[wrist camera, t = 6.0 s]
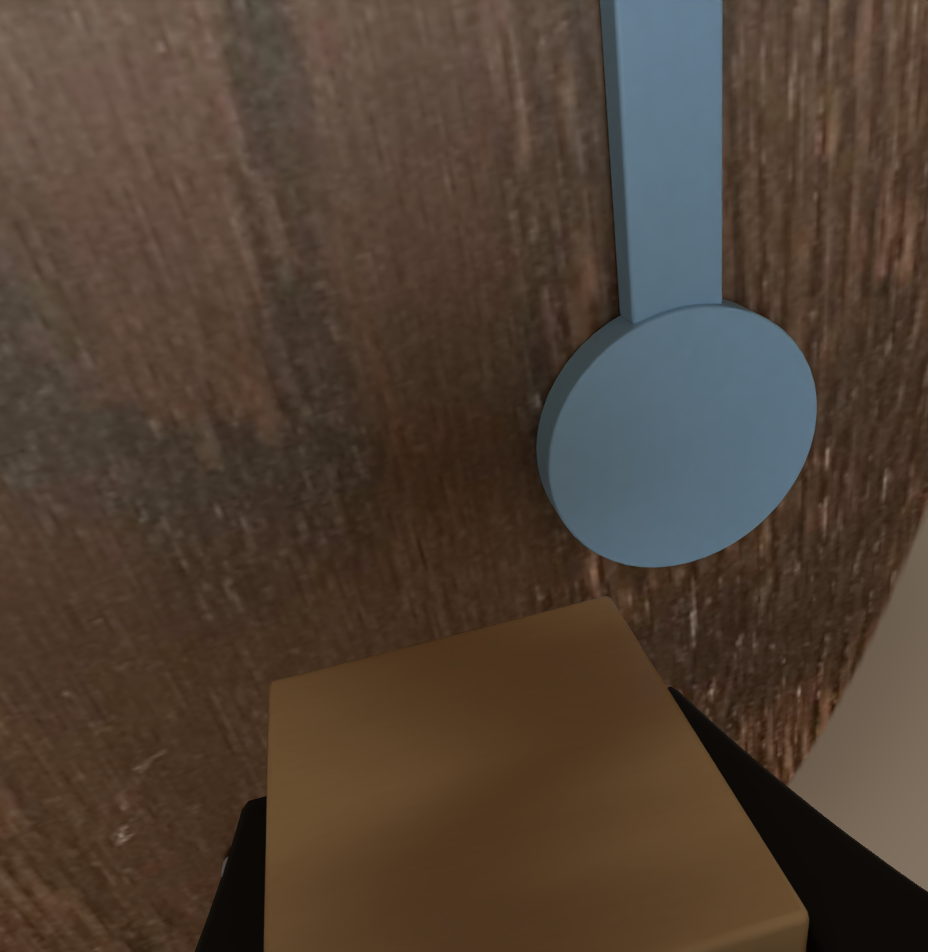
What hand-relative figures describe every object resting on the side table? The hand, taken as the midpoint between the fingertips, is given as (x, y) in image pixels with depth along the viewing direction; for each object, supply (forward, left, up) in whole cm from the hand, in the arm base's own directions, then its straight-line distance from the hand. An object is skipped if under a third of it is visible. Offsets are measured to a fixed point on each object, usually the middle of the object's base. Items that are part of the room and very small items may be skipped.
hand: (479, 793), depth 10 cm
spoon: (-7, -4, -8) cm, 11 cm away
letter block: (0, 0, -1) cm, 1 cm away
